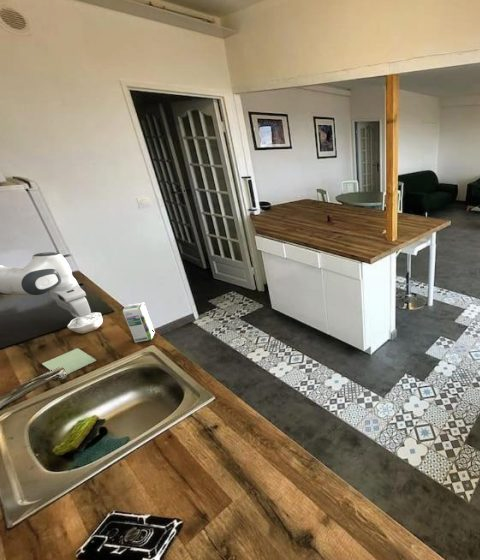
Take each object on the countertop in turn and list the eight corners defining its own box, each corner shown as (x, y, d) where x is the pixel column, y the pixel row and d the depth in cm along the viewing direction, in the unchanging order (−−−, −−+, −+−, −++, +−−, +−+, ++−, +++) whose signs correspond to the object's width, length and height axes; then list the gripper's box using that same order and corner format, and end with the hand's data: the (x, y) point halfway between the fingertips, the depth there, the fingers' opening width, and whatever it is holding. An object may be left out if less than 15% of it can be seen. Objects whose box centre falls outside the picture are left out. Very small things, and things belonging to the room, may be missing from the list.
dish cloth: (59, 377, 103) (59, 377, 103) (42, 364, 109) (41, 363, 109) (96, 360, 111) (96, 359, 111) (78, 348, 117) (77, 348, 117)
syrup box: (134, 343, 121) (121, 311, 114) (138, 335, 125) (126, 304, 119) (152, 340, 123) (140, 308, 117) (155, 332, 128) (144, 301, 121)
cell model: (113, 321, 134) (107, 307, 131) (92, 337, 123) (86, 323, 121) (87, 322, 133) (80, 308, 130) (64, 339, 122) (56, 324, 119)
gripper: (42, 287, 125) (57, 316, 131) (66, 299, 117) (81, 329, 123) (62, 281, 130) (76, 309, 136) (87, 292, 122) (100, 322, 128)
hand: (79, 319), depth 130 cm, fingers closed
